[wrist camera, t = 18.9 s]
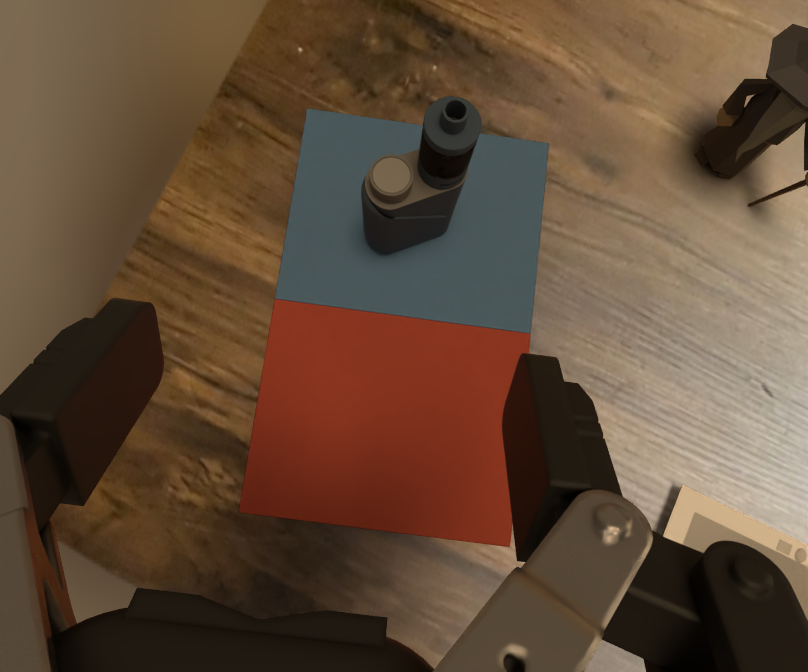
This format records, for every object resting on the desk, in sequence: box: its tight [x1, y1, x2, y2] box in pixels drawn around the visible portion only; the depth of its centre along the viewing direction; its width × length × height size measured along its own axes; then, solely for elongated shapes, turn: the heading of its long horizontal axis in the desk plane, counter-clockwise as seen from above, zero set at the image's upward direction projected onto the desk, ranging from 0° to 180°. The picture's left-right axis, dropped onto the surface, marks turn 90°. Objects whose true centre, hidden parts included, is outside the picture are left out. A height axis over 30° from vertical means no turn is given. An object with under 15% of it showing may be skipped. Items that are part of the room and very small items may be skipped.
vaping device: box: [361, 96, 481, 254], centre depth 28 cm, size 3×5×12 cm, turn 111°
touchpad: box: [663, 485, 808, 620], centre depth 30 cm, size 8×15×2 cm, turn 64°
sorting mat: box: [239, 109, 549, 547], centre depth 33 cm, size 15×24×1 cm, turn 173°
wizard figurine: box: [695, 24, 808, 206], centre depth 30 cm, size 8×6×12 cm
